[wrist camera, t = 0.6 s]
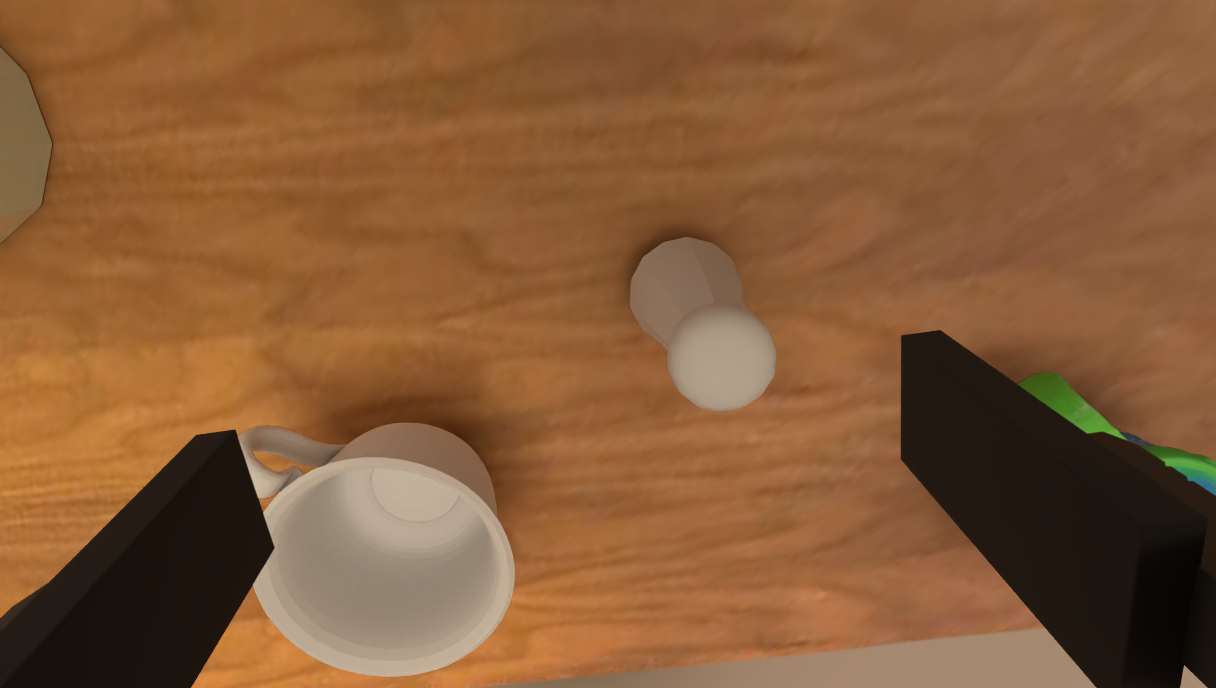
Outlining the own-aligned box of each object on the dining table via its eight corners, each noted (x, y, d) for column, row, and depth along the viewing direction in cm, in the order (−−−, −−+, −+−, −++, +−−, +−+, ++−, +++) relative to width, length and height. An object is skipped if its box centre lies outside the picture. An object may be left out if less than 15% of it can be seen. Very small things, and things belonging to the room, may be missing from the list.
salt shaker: (666, 351, 43) (707, 463, 31) (604, 273, 41) (621, 359, 29) (752, 289, 42) (829, 379, 30) (692, 206, 40) (748, 266, 28)
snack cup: (913, 378, 44) (1009, 462, 35) (1090, 311, 43) (1239, 378, 34) (970, 584, 49) (1067, 707, 40) (1130, 528, 49) (1269, 640, 39)
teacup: (359, 297, 41) (298, 365, 31) (567, 461, 45) (567, 564, 35) (230, 449, 43) (137, 553, 34) (437, 591, 47) (405, 719, 38)
